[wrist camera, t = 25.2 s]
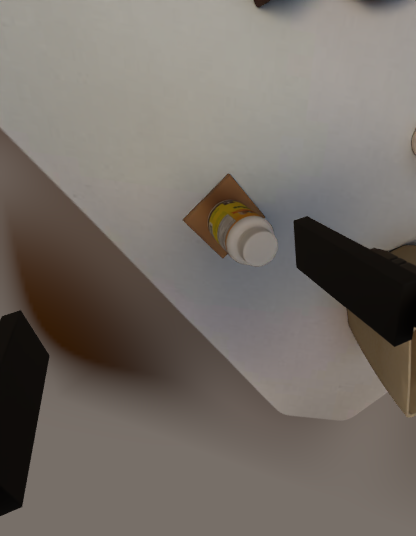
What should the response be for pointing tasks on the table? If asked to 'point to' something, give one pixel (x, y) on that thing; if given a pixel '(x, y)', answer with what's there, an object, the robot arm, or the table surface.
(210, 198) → the coaster
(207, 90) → the table surface
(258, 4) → the box
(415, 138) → the cup
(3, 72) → the table surface
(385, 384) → the flower pot
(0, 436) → the robot arm
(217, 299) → the table surface
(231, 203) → the supplement bottle
